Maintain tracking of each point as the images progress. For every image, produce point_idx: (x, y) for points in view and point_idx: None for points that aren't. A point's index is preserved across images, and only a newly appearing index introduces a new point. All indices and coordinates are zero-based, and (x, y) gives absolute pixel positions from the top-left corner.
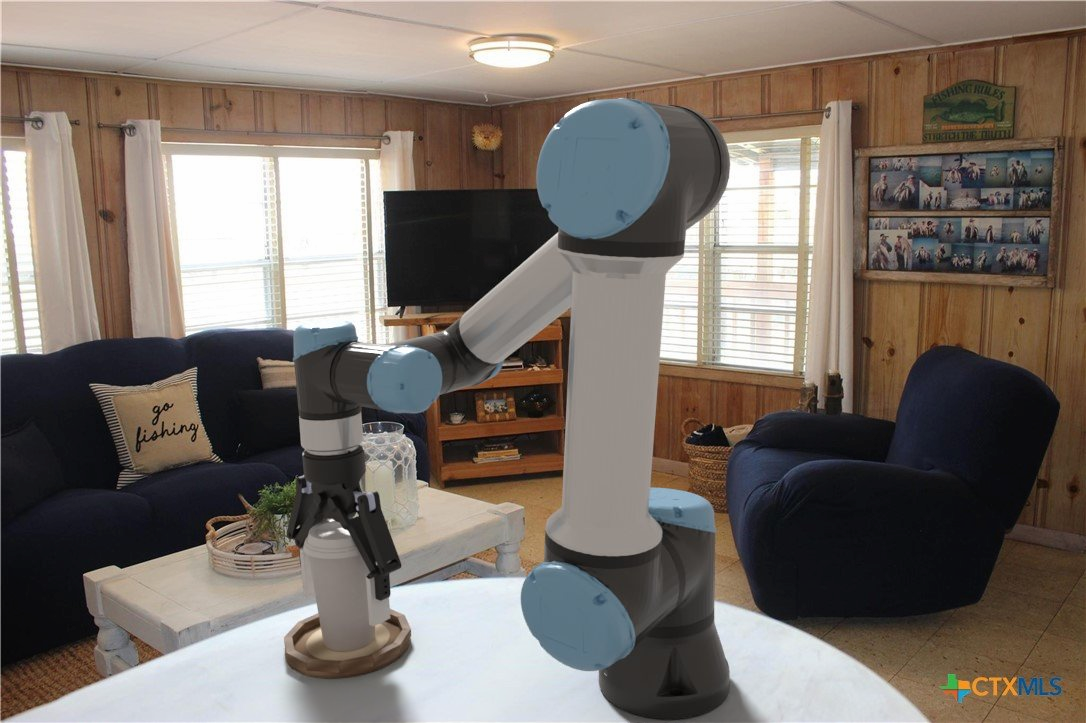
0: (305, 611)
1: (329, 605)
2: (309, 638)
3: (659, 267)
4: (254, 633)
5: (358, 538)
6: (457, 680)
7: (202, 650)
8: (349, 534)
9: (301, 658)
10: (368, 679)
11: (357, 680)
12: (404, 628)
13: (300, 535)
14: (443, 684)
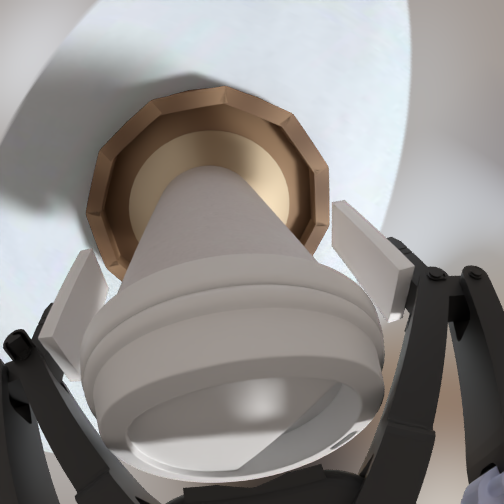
0: (378, 209)
1: (169, 205)
2: (269, 157)
3: None
4: (381, 108)
5: (51, 444)
6: (22, 281)
7: (390, 24)
8: (173, 442)
9: (177, 99)
10: (78, 184)
11: (85, 168)
12: None
13: (437, 301)
14: (19, 264)
